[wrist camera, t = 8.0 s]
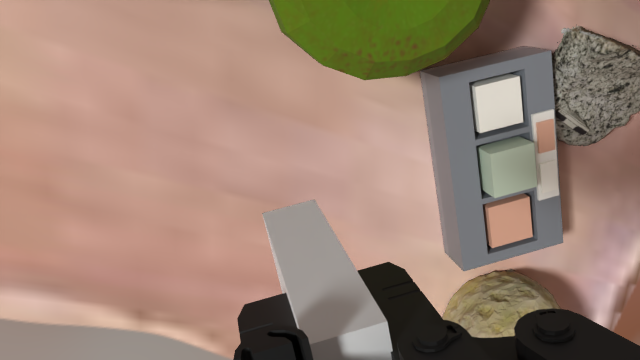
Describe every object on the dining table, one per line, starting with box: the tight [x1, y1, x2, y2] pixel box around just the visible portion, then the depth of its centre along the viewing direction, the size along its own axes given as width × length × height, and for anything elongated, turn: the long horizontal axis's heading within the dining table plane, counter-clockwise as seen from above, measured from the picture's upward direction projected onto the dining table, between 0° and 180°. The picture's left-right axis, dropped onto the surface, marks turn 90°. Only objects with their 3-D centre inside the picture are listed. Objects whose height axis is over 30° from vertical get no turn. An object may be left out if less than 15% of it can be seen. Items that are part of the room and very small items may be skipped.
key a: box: [469, 73, 523, 133], centre depth 41 cm, size 3×3×2 cm
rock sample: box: [552, 24, 640, 146], centre depth 43 cm, size 10×8×9 cm
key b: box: [477, 136, 537, 198], centre depth 41 cm, size 3×3×2 cm
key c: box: [482, 193, 533, 248], centre depth 44 cm, size 3×3×2 cm
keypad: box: [420, 46, 563, 271], centre depth 43 cm, size 14×8×4 cm, turn 11°
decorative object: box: [442, 270, 560, 338], centre depth 46 cm, size 9×10×10 cm
